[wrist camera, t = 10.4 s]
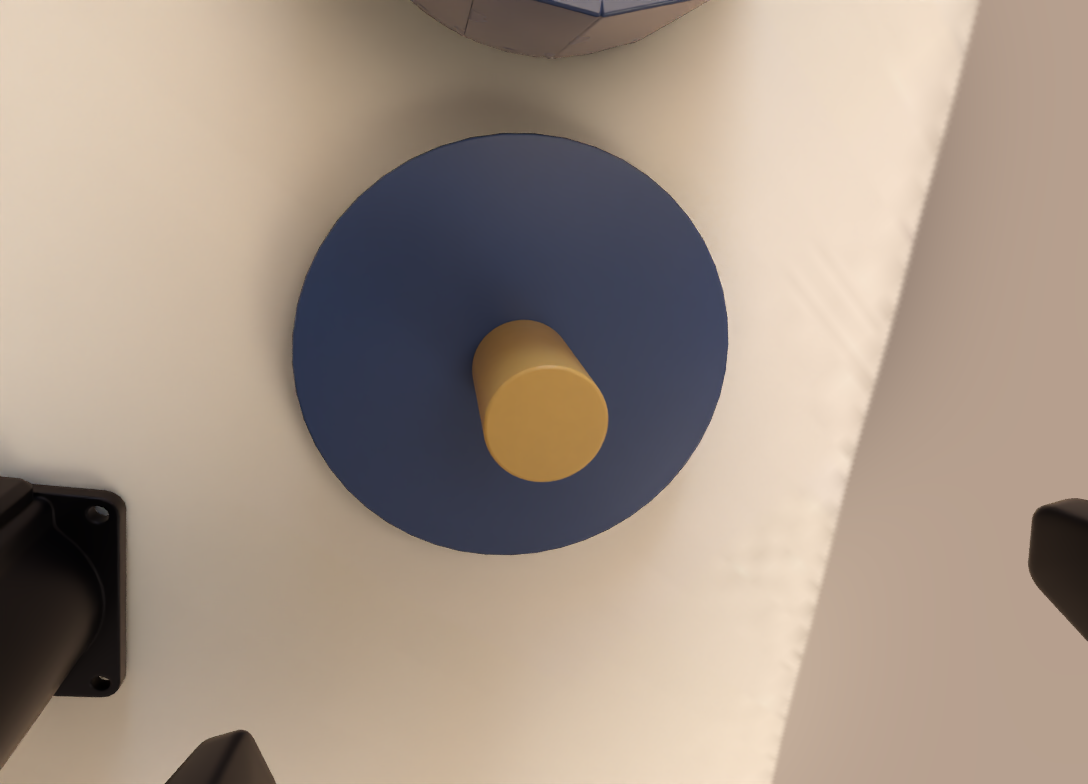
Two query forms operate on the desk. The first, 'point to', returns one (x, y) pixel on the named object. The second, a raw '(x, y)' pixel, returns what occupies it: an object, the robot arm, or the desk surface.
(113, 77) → the desk surface
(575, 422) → the tin lid
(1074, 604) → the robot arm
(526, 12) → the tin
